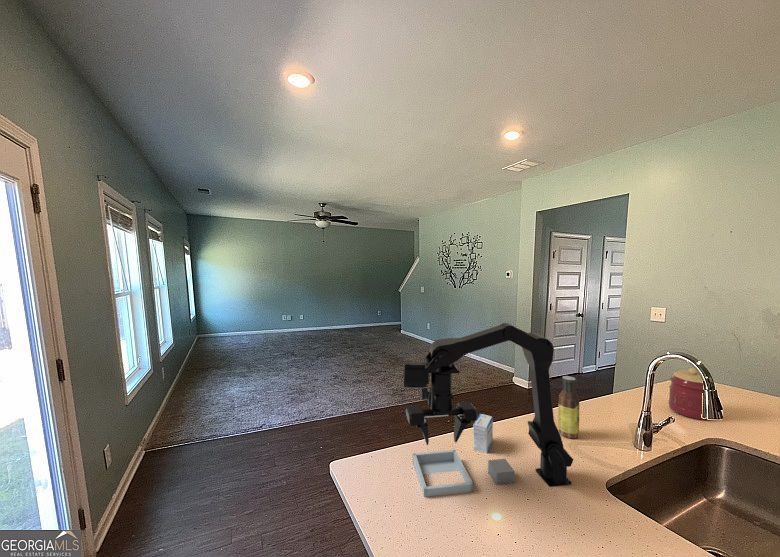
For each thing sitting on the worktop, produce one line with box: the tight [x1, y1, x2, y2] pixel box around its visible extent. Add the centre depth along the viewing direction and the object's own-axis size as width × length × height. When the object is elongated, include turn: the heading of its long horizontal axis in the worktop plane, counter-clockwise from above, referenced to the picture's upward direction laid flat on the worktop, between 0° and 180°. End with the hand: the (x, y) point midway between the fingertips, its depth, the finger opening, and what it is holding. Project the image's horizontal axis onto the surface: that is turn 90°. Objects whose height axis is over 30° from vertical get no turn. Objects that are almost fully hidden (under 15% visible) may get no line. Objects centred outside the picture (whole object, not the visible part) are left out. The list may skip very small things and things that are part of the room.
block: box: [487, 458, 516, 486], centre depth 82 cm, size 5×5×4 cm
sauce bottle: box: [557, 375, 580, 439], centre depth 104 cm, size 6×6×20 cm
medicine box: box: [472, 413, 494, 454], centre depth 98 cm, size 8×4×9 cm, turn 149°
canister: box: [668, 367, 717, 421], centre depth 118 cm, size 13×13×18 cm
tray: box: [412, 449, 475, 498], centre depth 83 cm, size 14×13×4 cm
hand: (441, 442), depth 83 cm, fingers open, 8 cm apart
